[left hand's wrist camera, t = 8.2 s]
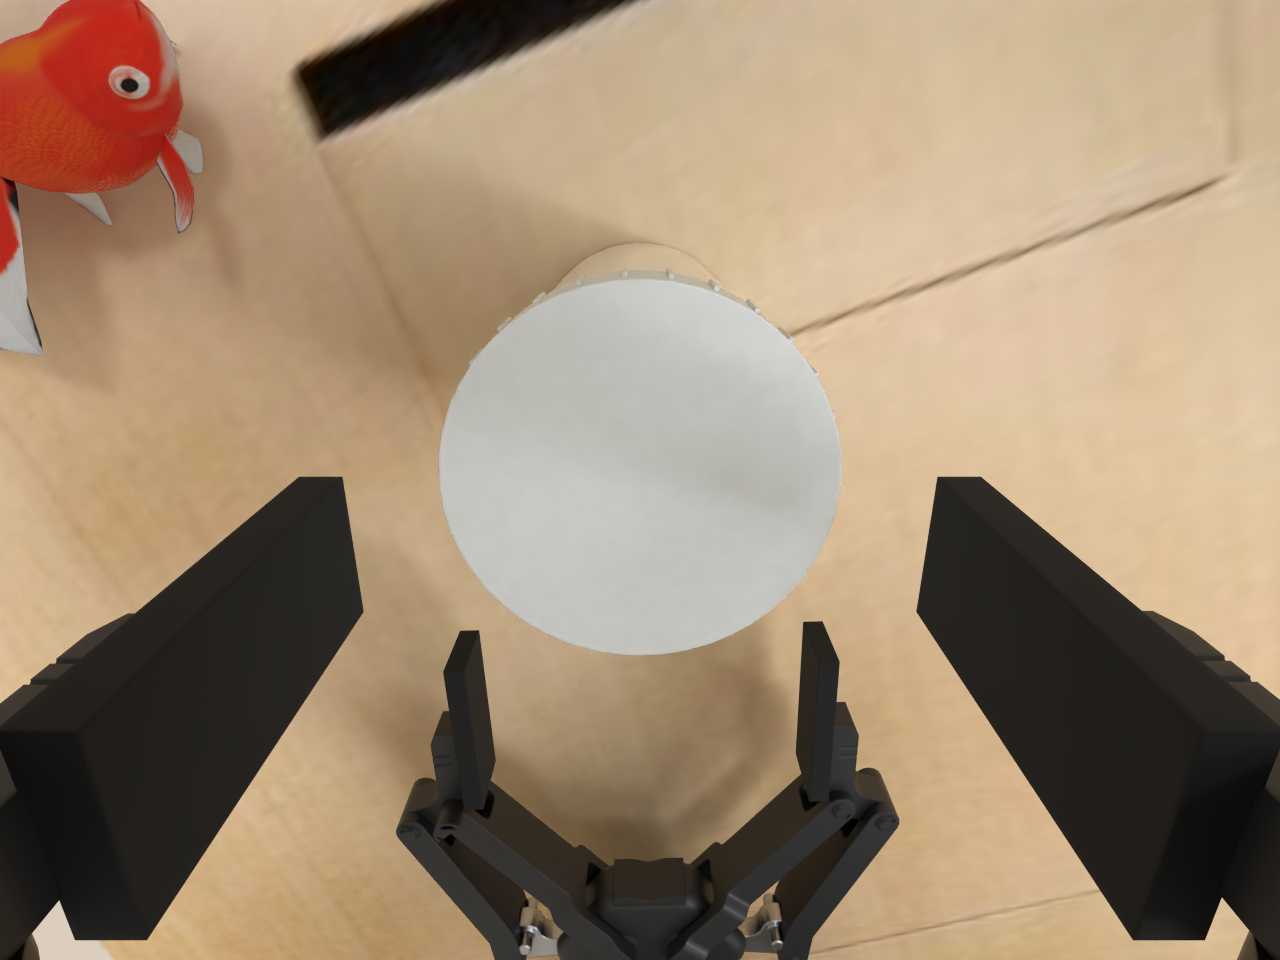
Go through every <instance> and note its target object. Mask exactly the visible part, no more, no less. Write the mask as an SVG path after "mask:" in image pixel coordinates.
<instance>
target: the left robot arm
mask: <svg viewBox="0 0 1280 960" xmlns="http://www.w3.org/2000/svg"><path fill="white" fill-rule="evenodd" d="M362 613H363V605H362V599H361V593H360V586H359V580H358V573H357V567H356V561H355V554H354V548H353V541H352V535H351V529H350V522H349V516H348V509H347V503H346V497H345V490H344V484H343V477H298V478H297V479H296V480H295V481H294V482H292V483H291V484H290V485H289V486H288V487H286V488H285V489H284V490H283V491H282V492H280V493H279V494H278V495H277V496H276V497H274V498H273V499H272V500H271V501H270V502H268V503H267V504H266V505H265V506H264V507H262V508H261V509H260V510H259V511H258V512H256V513H255V514H254V515H253V516H252V517H250V518H249V519H248V520H247V521H246V522H244V523H243V524H242V525H241V526H240V527H238V528H237V529H236V530H235V531H234V532H232V533H231V534H230V535H229V536H228V537H226V538H225V539H224V540H223V541H222V542H220V543H219V544H218V545H217V546H216V547H214V548H213V549H212V550H211V551H210V552H208V553H207V554H206V555H205V556H204V557H202V558H201V559H200V560H199V561H198V562H196V563H195V564H194V565H193V566H192V567H190V568H189V569H188V570H187V571H186V572H184V573H183V574H182V575H181V576H180V577H178V578H177V579H176V580H175V581H174V582H172V583H171V584H170V585H169V586H168V587H166V588H165V589H164V590H163V591H162V592H160V593H159V594H158V595H157V596H156V597H154V598H153V599H152V600H151V601H150V602H148V603H147V604H146V605H145V606H144V607H142V608H141V609H140V610H139V611H138V612H136V613H135V614H126V615H124V616H122V617H120V618H118V619H116V620H114V621H112V622H110V623H108V624H107V625H105V626H103V627H101V628H99V629H97V630H95V631H93V632H91V633H89V634H87V635H86V636H84V637H83V638H82V639H81V640H79V641H78V642H77V643H76V644H74V645H73V646H72V647H71V648H69V649H68V650H67V651H66V652H64V653H63V654H62V655H61V656H59V657H58V658H57V659H56V660H57V661H56V664H49V665H48V666H47V667H46V668H44V669H43V670H42V671H41V672H39V673H38V674H37V675H36V676H34V677H33V678H32V679H31V683H30V685H23V686H22V687H21V688H19V689H18V690H17V691H16V692H14V693H13V694H12V695H10V696H9V697H8V698H7V699H5V700H4V701H3V702H2V703H0V960H40V958H39V951H38V947H37V944H36V942H35V940H34V937H33V935H32V933H33V931H34V930H35V929H36V928H37V926H38V925H39V924H40V923H41V921H42V920H43V919H44V918H45V917H46V915H47V914H48V913H49V912H50V911H51V909H52V908H53V907H54V906H55V904H56V903H57V902H58V901H59V900H60V903H61V905H62V908H63V911H64V913H65V916H66V918H67V921H68V923H69V926H70V928H71V931H72V933H73V936H74V939H75V940H147V939H148V938H149V936H150V935H151V933H152V932H153V930H154V929H155V927H156V925H157V924H158V922H159V921H160V919H161V918H162V916H163V915H164V913H165V912H166V910H167V909H168V907H169V906H170V904H171V903H172V901H173V900H174V898H175V897H176V895H177V894H178V892H179V891H180V889H181V888H182V886H183V885H184V883H185V882H186V880H187V879H188V877H189V875H190V874H191V872H192V871H193V869H194V868H195V866H196V865H197V863H198V862H199V860H200V859H201V857H202V856H203V854H204V853H205V851H206V850H207V848H208V847H209V845H210V844H211V842H212V841H213V839H214V838H215V836H216V835H217V833H218V832H219V830H220V829H221V827H222V825H223V824H224V822H225V821H226V819H227V818H228V816H229V815H230V813H231V812H232V810H233V809H234V807H235V806H236V804H237V803H238V801H239V800H240V798H241V797H242V795H243V794H244V792H245V791H246V789H247V788H248V786H249V785H250V783H251V782H252V780H253V779H254V777H255V775H256V774H257V772H258V771H259V769H260V768H261V766H262V765H263V763H264V762H265V760H266V759H267V757H268V756H269V754H270V753H271V751H272V750H273V748H274V747H275V745H276V744H277V742H278V741H279V739H280V738H281V736H282V735H283V733H284V732H285V730H286V729H287V727H288V726H289V724H290V722H291V721H292V719H293V718H294V716H295V715H296V713H297V712H298V710H299V709H300V707H301V706H302V704H303V703H304V701H305V700H306V698H307V697H308V695H309V694H310V692H311V691H312V689H313V688H314V686H315V685H316V683H317V682H318V680H319V679H320V677H321V676H322V674H323V672H324V671H325V669H326V668H327V666H328V665H329V663H330V662H331V660H332V659H333V657H334V656H335V654H336V653H337V651H338V650H339V648H340V647H341V645H342V644H343V642H344V641H345V639H346V638H347V636H348V635H349V633H350V632H351V630H352V629H353V627H354V626H355V624H356V622H357V621H358V619H359V618H360V616H361V615H362ZM917 613H918V615H919V616H920V618H921V619H922V621H923V622H924V624H925V626H926V627H927V629H928V630H929V632H930V633H931V635H932V636H933V638H934V639H935V641H936V642H937V644H938V645H939V647H940V648H941V650H942V651H943V653H944V654H945V656H946V657H947V659H948V660H949V662H950V663H951V665H952V666H953V668H954V669H955V671H956V672H957V674H958V676H959V677H960V679H961V680H962V682H963V683H964V685H965V686H966V688H967V689H968V691H969V692H970V694H971V695H972V697H973V698H974V700H975V701H976V703H977V704H978V706H979V707H980V709H981V710H982V712H983V713H984V715H985V716H986V718H987V719H988V721H989V722H990V724H991V726H992V727H993V729H994V730H995V732H996V733H997V735H998V736H999V738H1000V739H1001V741H1002V742H1003V744H1004V745H1005V747H1006V748H1007V750H1008V751H1009V753H1010V754H1011V756H1012V757H1013V759H1014V760H1015V762H1016V763H1017V765H1018V766H1019V768H1020V769H1021V771H1022V772H1023V774H1024V775H1025V777H1026V779H1027V780H1028V782H1029V783H1030V785H1031V786H1032V788H1033V789H1034V791H1035V792H1036V794H1037V795H1038V797H1039V798H1040V800H1041V801H1042V803H1043V804H1044V806H1045V807H1046V809H1047V810H1048V812H1049V813H1050V815H1051V816H1052V818H1053V819H1054V821H1055V822H1056V824H1057V825H1058V827H1059V829H1060V830H1061V832H1062V833H1063V835H1064V836H1065V838H1066V839H1067V841H1068V842H1069V844H1070V845H1071V847H1072V848H1073V850H1074V851H1075V853H1076V854H1077V856H1078V857H1079V859H1080V860H1081V862H1082V863H1083V865H1084V866H1085V868H1086V869H1087V871H1088V872H1089V874H1090V875H1091V877H1092V879H1093V880H1094V882H1095V883H1096V885H1097V886H1098V888H1099V889H1100V891H1101V892H1102V894H1103V895H1104V897H1105V898H1106V900H1107V901H1108V903H1109V904H1110V906H1111V907H1112V909H1113V910H1114V912H1115V913H1116V915H1117V916H1118V918H1119V919H1120V921H1121V922H1122V924H1123V925H1124V927H1125V929H1126V930H1127V932H1128V933H1129V935H1130V936H1131V938H1132V939H1133V940H1205V939H1206V936H1207V933H1208V931H1209V928H1210V926H1211V923H1212V921H1213V918H1214V916H1215V913H1216V911H1217V908H1218V905H1219V903H1220V900H1221V898H1223V899H1224V900H1225V901H1226V903H1227V904H1228V905H1229V906H1230V908H1231V909H1232V910H1233V911H1234V912H1235V914H1236V915H1237V916H1238V917H1239V918H1240V920H1241V921H1242V922H1243V923H1244V924H1245V926H1246V927H1247V928H1248V929H1249V933H1248V935H1247V937H1246V940H1245V942H1244V944H1243V947H1242V949H1241V952H1240V954H1239V956H1238V959H1237V960H1280V700H1279V699H1278V698H1277V697H1276V696H1274V695H1273V694H1272V693H1271V692H1269V691H1268V690H1267V689H1265V688H1264V687H1263V686H1262V685H1260V684H1259V683H1258V682H1251V680H1250V676H1249V675H1248V674H1247V673H1245V672H1244V671H1243V670H1242V669H1240V668H1239V667H1238V666H1236V665H1235V664H1234V663H1233V662H1231V661H1225V659H1224V655H1223V654H1221V653H1220V652H1219V651H1218V650H1216V649H1215V648H1214V647H1212V646H1211V645H1210V644H1209V643H1207V642H1206V641H1205V640H1204V639H1202V638H1201V637H1200V636H1199V635H1197V634H1196V633H1195V632H1193V631H1191V630H1189V629H1187V628H1185V627H1184V626H1182V625H1180V624H1178V623H1176V622H1174V621H1172V620H1170V619H1168V618H1166V617H1164V616H1162V615H1160V614H1158V613H1156V612H1154V611H1141V610H1140V609H1139V608H1138V607H1136V606H1135V605H1134V604H1133V603H1132V602H1130V601H1129V600H1128V599H1127V598H1126V597H1124V596H1123V595H1122V594H1121V593H1120V592H1118V591H1117V590H1116V589H1115V588H1114V587H1112V586H1111V585H1110V584H1109V583H1108V582H1106V581H1105V580H1104V579H1103V578H1102V577H1100V576H1099V575H1098V574H1097V573H1096V572H1094V571H1093V570H1092V569H1091V568H1090V567H1088V566H1087V565H1086V564H1085V563H1084V562H1082V561H1081V560H1080V559H1079V558H1078V557H1076V556H1075V555H1074V554H1073V553H1072V552H1070V551H1069V550H1068V549H1067V548H1066V547H1064V546H1063V545H1062V544H1061V543H1060V542H1058V541H1057V540H1056V539H1055V538H1054V537H1052V536H1051V535H1050V534H1049V533H1048V532H1046V531H1045V530H1044V529H1043V528H1042V527H1040V526H1039V525H1038V524H1037V523H1036V522H1034V521H1033V520H1032V519H1031V518H1030V517H1028V516H1027V515H1026V514H1025V513H1024V512H1022V511H1021V510H1020V509H1019V508H1018V507H1016V506H1015V505H1014V504H1013V503H1012V502H1010V501H1009V500H1008V499H1007V498H1006V497H1004V496H1003V495H1002V494H1001V493H1000V492H998V491H997V490H996V489H995V488H994V487H992V486H991V485H990V484H989V483H988V482H986V481H985V480H984V479H983V478H982V477H937V484H936V490H935V497H934V503H933V509H932V516H931V522H930V529H929V535H928V541H927V548H926V554H925V561H924V567H923V573H922V580H921V586H920V593H919V599H918V605H917Z"/></svg>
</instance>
